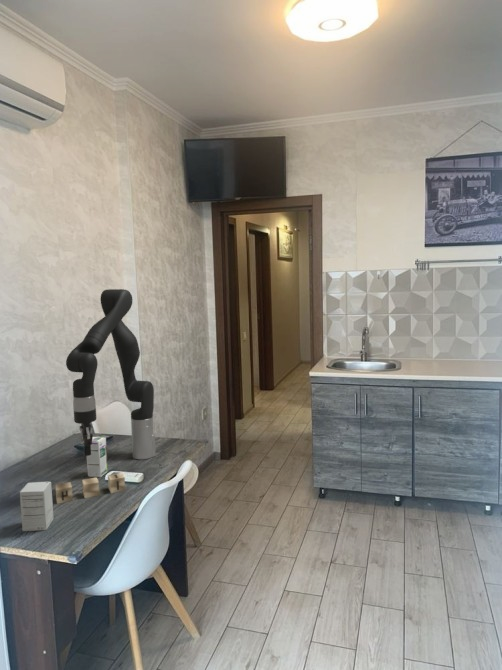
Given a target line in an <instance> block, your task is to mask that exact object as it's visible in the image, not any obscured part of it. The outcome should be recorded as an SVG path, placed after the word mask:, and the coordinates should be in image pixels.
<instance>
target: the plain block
mask: <svg viewBox="0 0 502 670" xmlns="http://www.w3.org/2000/svg"><path fill="white" fill-rule="evenodd" d="M81 482H82V494H83V497H84V499H89V498H94V496H95V497H99V496H100V482H99V479H98V477H90V478H85V479H82V480H81Z"/></svg>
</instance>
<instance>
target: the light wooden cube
mask: <svg viewBox="0 0 502 670" xmlns="http://www.w3.org/2000/svg"><path fill="white" fill-rule="evenodd" d="M55 499H56V504H57V505H58V504H62V503H67V502H73V499H74V498H73V486H72V483H71V481H69V482H63V483H57V484H55Z"/></svg>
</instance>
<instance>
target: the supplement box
mask: <svg viewBox="0 0 502 670" xmlns="http://www.w3.org/2000/svg"><path fill="white" fill-rule="evenodd" d="M19 500H20V501H19V504H20V516H21V527H22V528H21V529H22V530H21V531H22V532H31V531H32V532H33V531H35V532H36V531H47V530H48V528H49V526H50V525H51V524H52V522H53V520H54V509H53V507H54V504H53V503H54V502H53V492H52V482H51V481H37V482H33V481H32V482H27V483H26V484H25V486H23V487H22V489H21V490H19Z"/></svg>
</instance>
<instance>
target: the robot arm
mask: <svg viewBox="0 0 502 670" xmlns="http://www.w3.org/2000/svg"><path fill="white" fill-rule="evenodd" d="M132 305H133V295H132V293H131V291H129V290H127V289H124V288H123V289H121V288H119V289H117V288H115V289H114V288H113V289H112V288H111V289H110V288H109V289H104V290H103V291H102V293H101V294H100V306H101V309H102V311H103V314H104V316H103V318H101V319H100V320H98V321H97V322H96V323H94V324H93V325H92V326H91V327H90V328H89V330H88V331H87V333H86V334H85V336H84V339H83V340H82V341H81V342H79V344H77V345H76V346H75V347H74V348H73V349H72V350H71V351H70V353H69V354H68V355H67V358H66V360H65V365H66V369H67V370H69V371H70V372H72V373H81V374H82V377H81V378H77V379H75V380H73V382H72V394H73V395H72V396H73V402H72V407H73V422H74V423H76V424H81V425H79V431H80V439H81V442H82V446H83V454H84V457H87V456H89V455H91V445H92V437H94V435H93V425H92V423H94V422H96V420H97V408H96V406H97V404H96V397H95V385H94V384H95V379H96V378H95V377H96V374H97V369H98V365H99V364H98V359H97V357H96V354H99V352H100V351H101V350H102V348H103V347H104V345H105V343H106V341H107V339H108V338H109V336H110V334H111V336H112V340H113V343H114V349H115V353H116V356H117V359H118V362H119V365H120V370H121V374H122V381H123V388H124V393H125V396H126V398H127V400H128V401H130V402H132V403H140V407H138V408H136V409H133V410H132V411H131V412H130V421H131V422H130V425H131V427H130V428H131V448H132V450H131V451H132V458H133V459H136V460H148V459H151V458H153V457H156V436H155V434H154V406H155V405H154V404H155V403H154V401H155V391H154V385H153V383H152V382H151V381H148V380H137V378H136V374H135V369H136V366H137V364H138V362H139V358H140V354H141V351H140V347H139V343H138V340H137V339H138V338H137V337H136V335H135V334H134V333H133V332H132V330H131V329H130V328H129V327H128V326H127V325H126V324H125V322H123V318H124V317H125V316H126V315H127V314H128V313H129V312H130V310H131V308H132Z"/></svg>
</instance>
